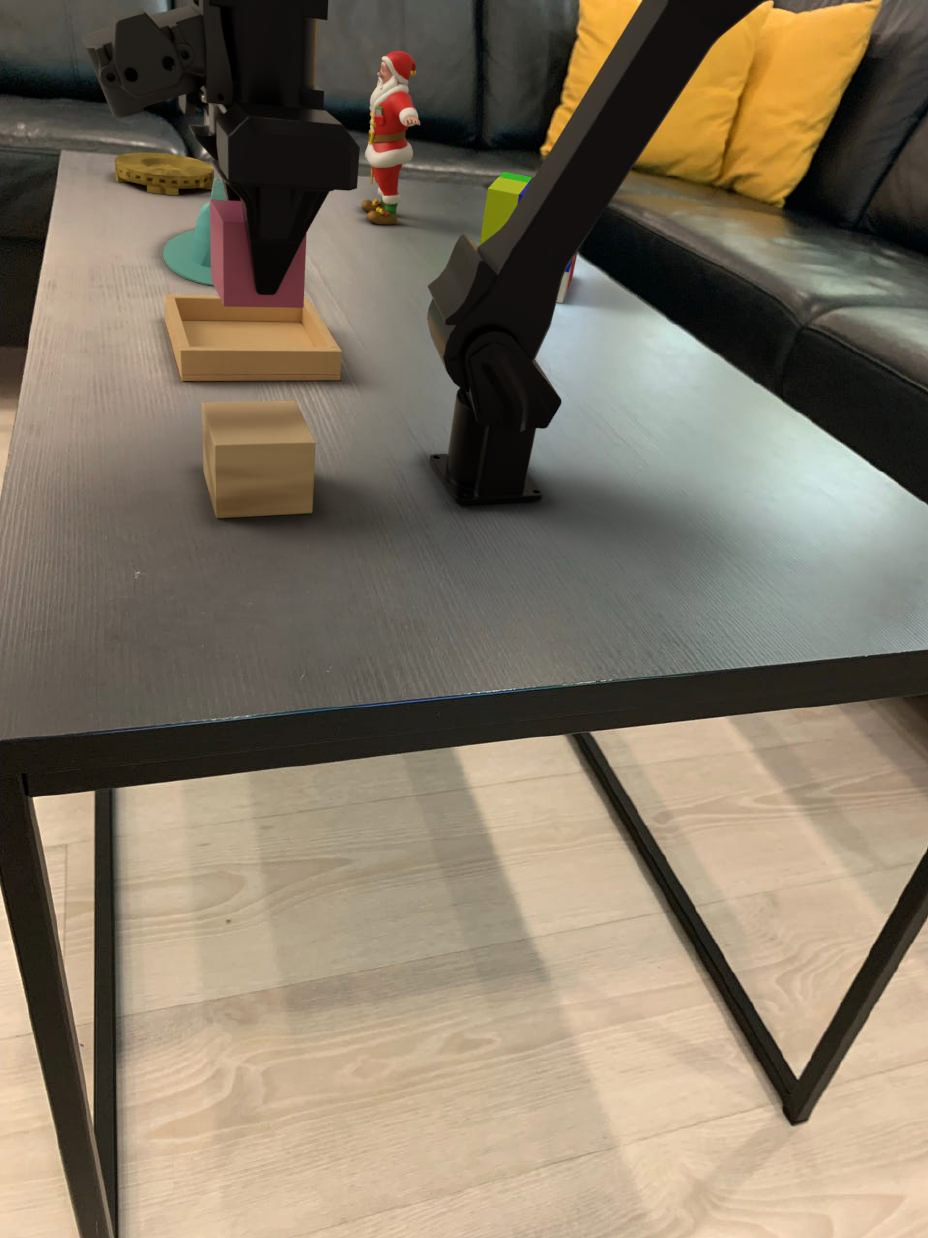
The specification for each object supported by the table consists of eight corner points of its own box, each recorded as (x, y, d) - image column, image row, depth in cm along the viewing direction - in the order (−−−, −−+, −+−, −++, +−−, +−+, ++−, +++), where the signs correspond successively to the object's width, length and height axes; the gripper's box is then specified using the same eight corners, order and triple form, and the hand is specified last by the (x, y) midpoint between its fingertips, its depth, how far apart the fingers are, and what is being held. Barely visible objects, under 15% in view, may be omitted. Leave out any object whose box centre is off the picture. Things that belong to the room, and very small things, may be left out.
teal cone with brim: (284, 235, 108) (286, 154, 103) (279, 292, 92) (281, 200, 87) (175, 223, 106) (171, 140, 101) (151, 279, 90) (145, 184, 85)
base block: (312, 513, 60) (316, 442, 57) (216, 518, 58) (214, 445, 55) (293, 468, 64) (296, 400, 61) (203, 471, 62) (201, 401, 59)
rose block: (303, 308, 55) (307, 226, 52) (223, 306, 53) (222, 221, 50) (286, 282, 58) (289, 203, 55) (211, 280, 56) (209, 198, 54)
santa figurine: (350, 191, 130) (360, 34, 119) (391, 195, 131) (405, 40, 120) (374, 244, 111) (389, 62, 100) (422, 248, 112) (442, 70, 101)
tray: (339, 380, 77) (341, 351, 76) (181, 381, 73) (180, 349, 71) (307, 324, 86) (308, 297, 85) (165, 322, 82) (164, 293, 80)
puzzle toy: (562, 303, 102) (581, 206, 97) (473, 284, 103) (487, 188, 97) (572, 278, 111) (590, 188, 105) (489, 262, 111) (503, 171, 105)
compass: (233, 188, 122) (233, 170, 121) (163, 199, 113) (163, 180, 112) (167, 166, 126) (166, 149, 125) (95, 175, 118) (93, 156, 116)
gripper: (74, -80, 50) (100, 227, 59) (98, -55, 36) (126, 338, 45) (283, -47, 54) (276, 235, 63) (374, -14, 40) (349, 339, 49)
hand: (257, 279), depth 55 cm, fingers closed on rose block, 4 cm apart
